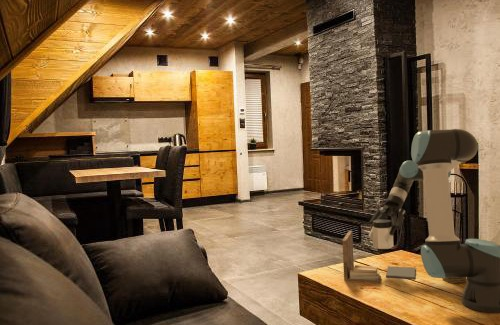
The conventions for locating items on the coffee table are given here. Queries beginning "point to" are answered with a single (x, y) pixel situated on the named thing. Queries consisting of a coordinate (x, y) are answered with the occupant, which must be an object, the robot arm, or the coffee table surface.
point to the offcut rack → (358, 271)
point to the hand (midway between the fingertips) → (378, 239)
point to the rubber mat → (400, 272)
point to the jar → (381, 234)
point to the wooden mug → (456, 280)
